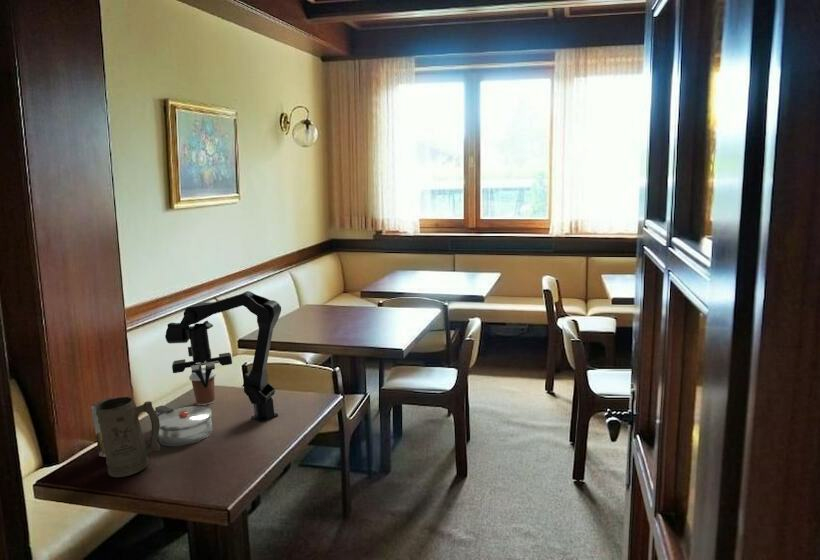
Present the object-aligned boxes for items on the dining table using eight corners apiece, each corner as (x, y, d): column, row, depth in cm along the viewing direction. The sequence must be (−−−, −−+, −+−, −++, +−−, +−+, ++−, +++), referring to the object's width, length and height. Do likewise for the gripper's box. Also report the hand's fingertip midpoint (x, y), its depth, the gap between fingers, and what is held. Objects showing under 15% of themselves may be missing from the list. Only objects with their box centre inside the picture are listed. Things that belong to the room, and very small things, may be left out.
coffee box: (137, 451, 192) (130, 399, 189) (120, 460, 186) (112, 407, 183) (115, 447, 196) (108, 396, 193) (97, 456, 190) (90, 404, 187)
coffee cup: (206, 408, 225) (202, 375, 223) (186, 405, 228) (182, 373, 226) (224, 399, 233) (220, 367, 231) (205, 396, 237) (201, 365, 235)
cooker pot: (222, 431, 202) (221, 416, 202) (177, 450, 190) (175, 434, 189) (183, 417, 217) (181, 403, 216) (138, 434, 204) (136, 419, 204)
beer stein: (106, 482, 172) (95, 412, 169) (104, 467, 182) (94, 400, 178) (166, 467, 179) (157, 399, 176) (162, 454, 189) (153, 389, 185)
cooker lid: (222, 416, 202) (221, 408, 201) (174, 434, 189) (173, 426, 189) (181, 402, 216) (180, 395, 216) (134, 419, 204) (133, 411, 203)
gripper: (228, 332, 221) (234, 376, 224) (171, 340, 216) (177, 385, 219) (229, 339, 211) (235, 385, 214) (169, 348, 206) (176, 395, 208)
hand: (206, 387), depth 214 cm, fingers closed
